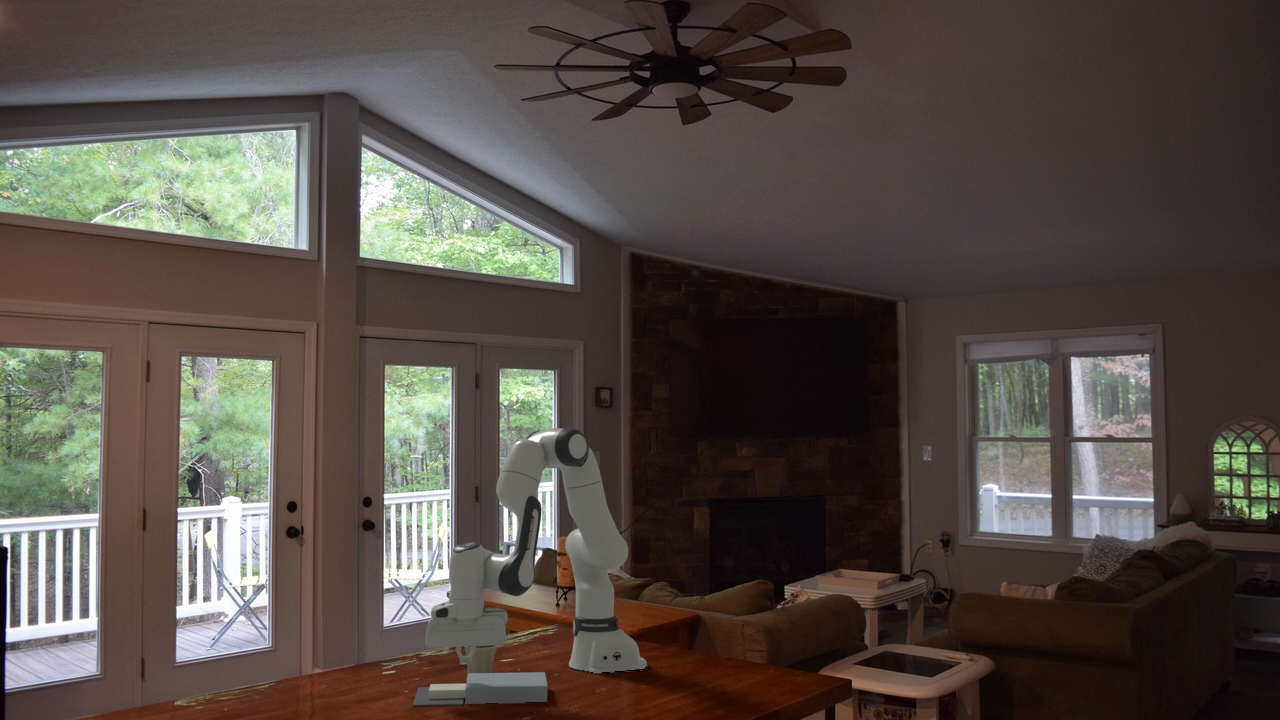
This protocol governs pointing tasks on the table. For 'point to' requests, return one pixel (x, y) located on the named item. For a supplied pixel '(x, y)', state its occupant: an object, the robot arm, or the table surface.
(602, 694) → the table surface
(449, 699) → the mat
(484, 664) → the flower pot
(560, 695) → the table surface
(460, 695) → the cream flat block
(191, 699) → the table surface
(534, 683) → the plate
